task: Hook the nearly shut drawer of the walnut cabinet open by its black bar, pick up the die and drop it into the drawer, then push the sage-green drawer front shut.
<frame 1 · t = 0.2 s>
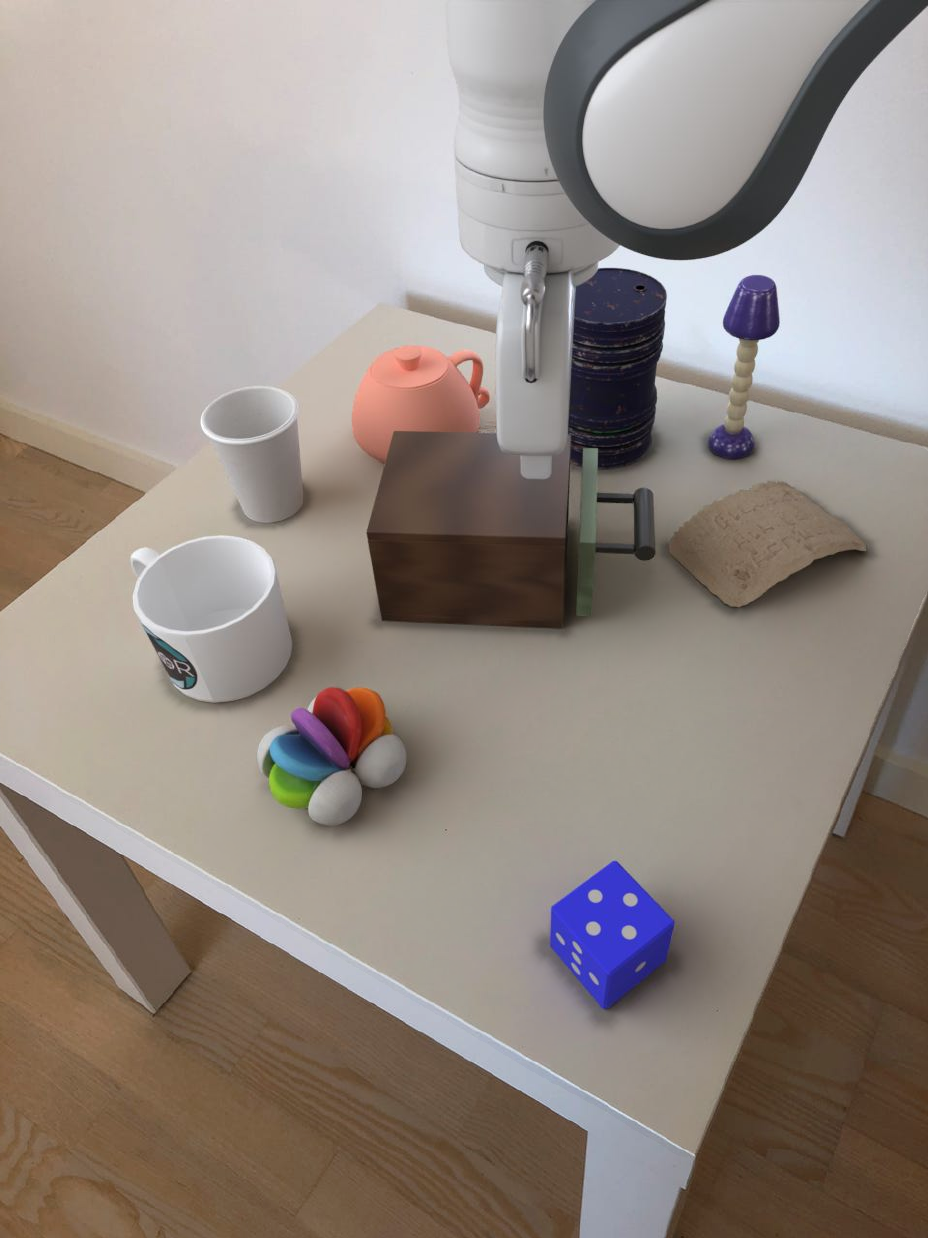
hand: (540, 425, 59), 20 cm above the table, tool pointing down, fingers open, 8 cm apart
toy lamp: (728, 448, 90), on the table
clay tablet: (765, 549, 80), on the table
cabinet: (478, 570, 80), on the table
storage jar: (600, 440, 92), on the table
sugar bowl: (426, 442, 93), on the table
drawer: (538, 529, 76), point 5 cm above the table, slide at 1.0 cm
dixie cup: (273, 504, 88), on the table
die: (607, 954, 57), on the table
rainbow petal toy: (337, 774, 67), on the table
mug: (218, 649, 76), on the table
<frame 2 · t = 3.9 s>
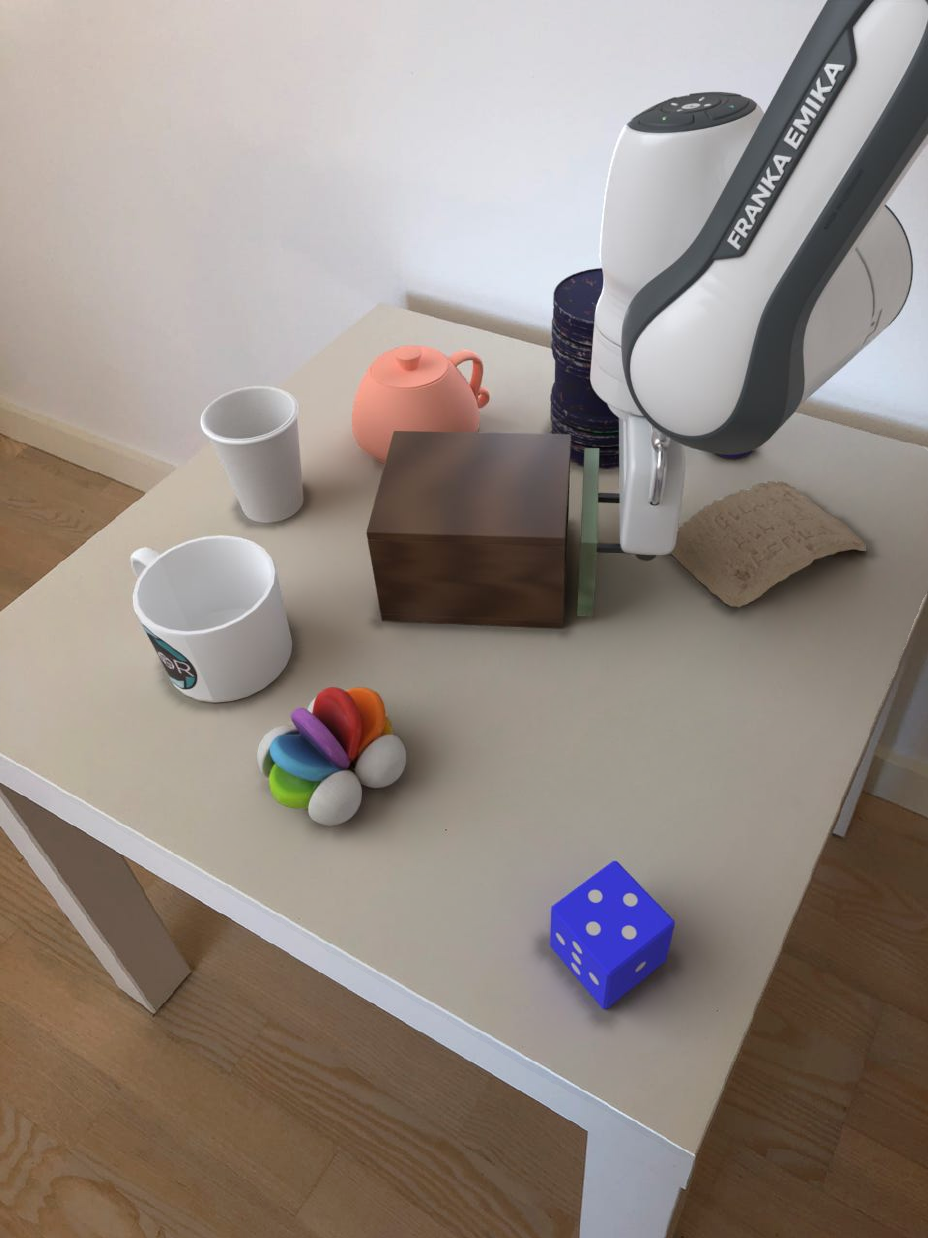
hand: (636, 515, 74), 7 cm above the table, tool pointing down, fingers closed, pressing on drawer
drawer: (540, 529, 76), point 5 cm above the table, slide at 1.1 cm, touching gripper
everything else where it was.
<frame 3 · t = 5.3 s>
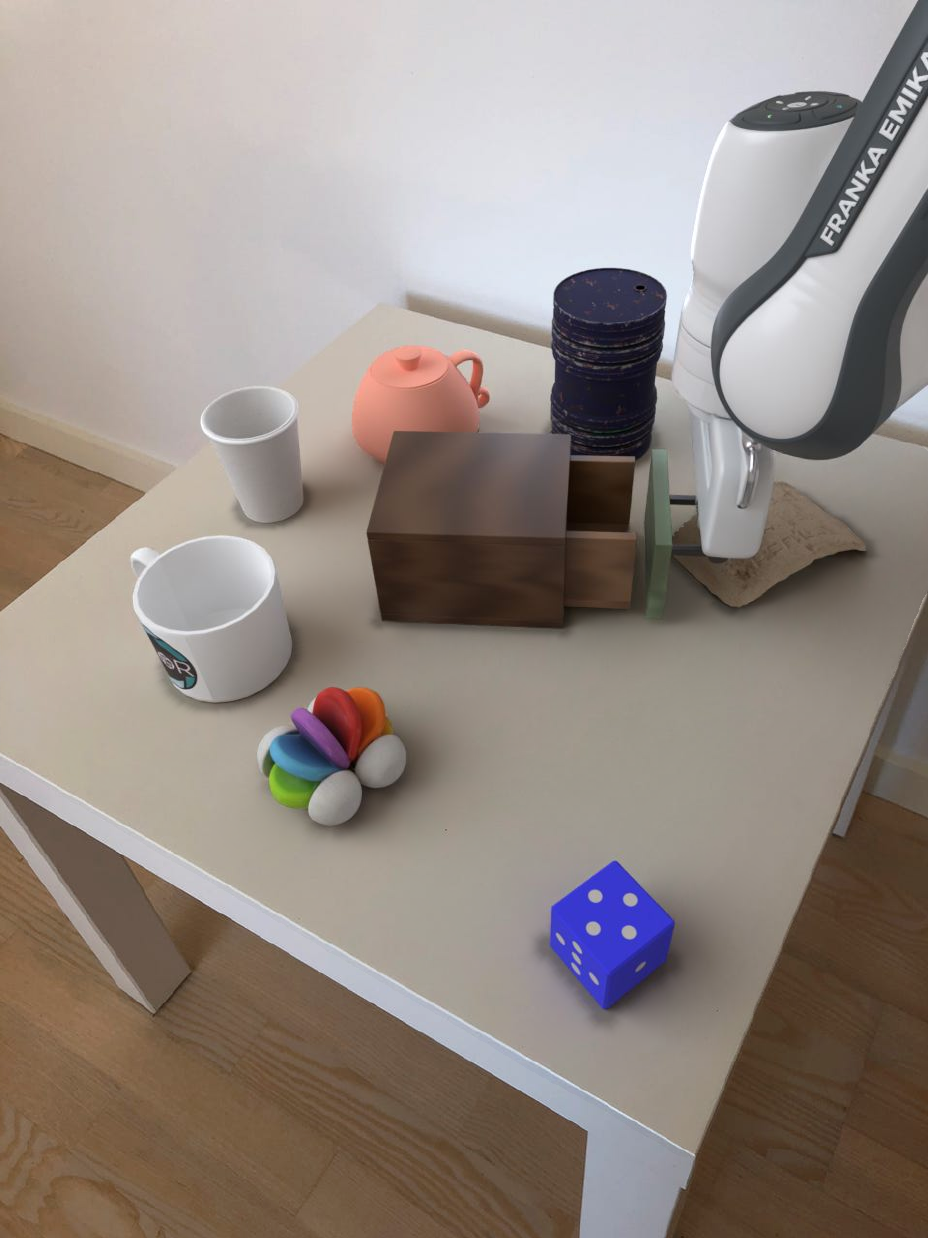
hand: (707, 517, 73), 7 cm above the table, tool pointing down, fingers closed, pressing on drawer
drawer: (607, 531, 75), point 5 cm above the table, slide at 6.5 cm, touching gripper
everything else where it was.
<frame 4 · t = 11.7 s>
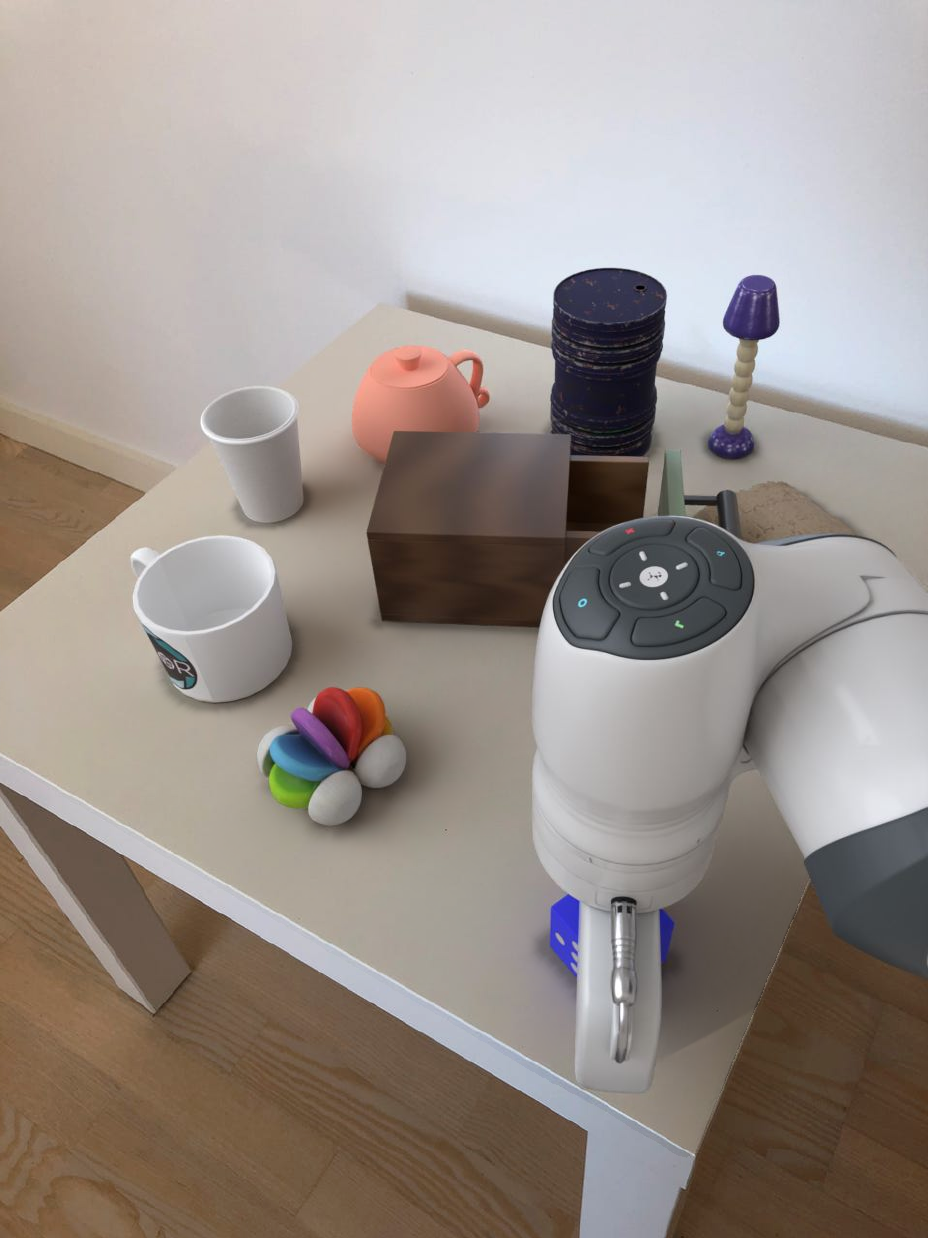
hand: (607, 939, 55), 2 cm above the table, tool pointing down, fingers closed on die, 7 cm apart
drawer: (621, 531, 75), point 5 cm above the table, slide at 7.6 cm
die: (607, 954, 57), on the table, touching gripper
everything else where it was.
when the fingers open (11 cm above the table, at t = 18.4 s): die drops 7 cm, resting on drawer.
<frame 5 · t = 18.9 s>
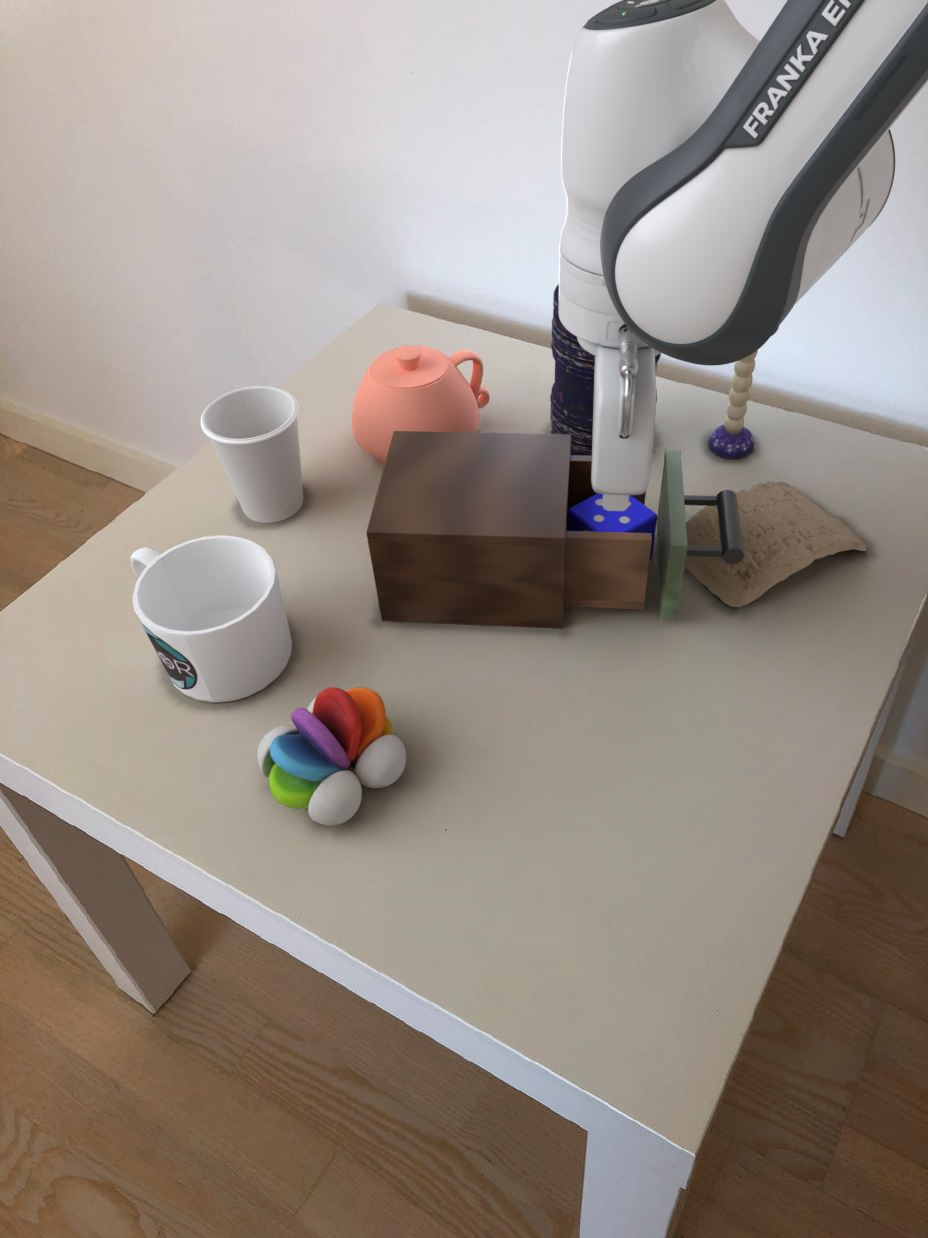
hand: (615, 463, 70), 11 cm above the table, tool pointing down, fingers open, 8 cm apart
drawer: (621, 531, 75), point 5 cm above the table, slide at 7.6 cm, touching die
die: (609, 560, 77), point 2 cm above the table, touching drawer
everything else where it was.
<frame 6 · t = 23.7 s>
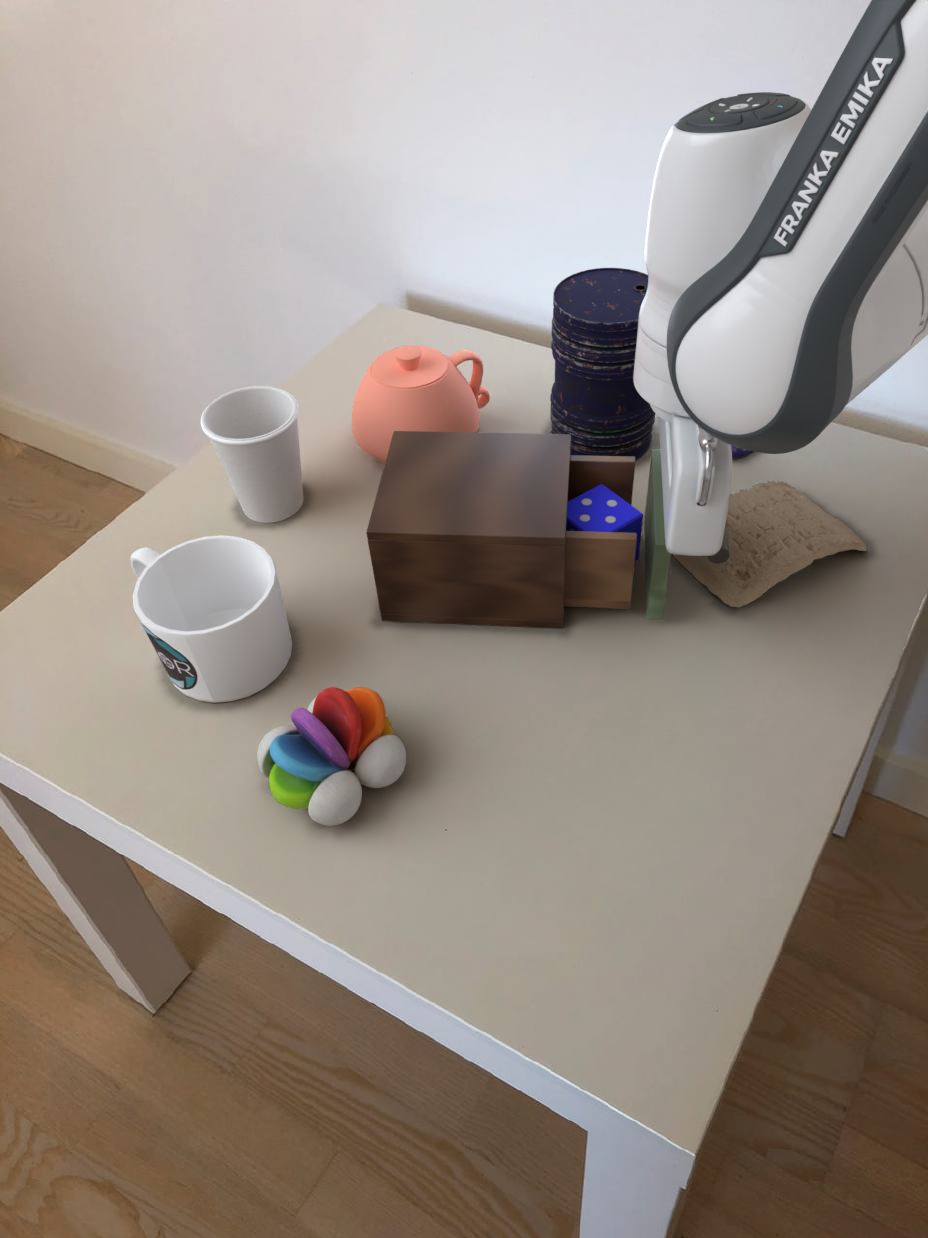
hand: (677, 517, 73), 6 cm above the table, tool pointing down, fingers closed
drawer: (607, 531, 75), point 5 cm above the table, slide at 6.5 cm, touching die
die: (595, 559, 77), point 2 cm above the table, touching drawer
everything else where it was.
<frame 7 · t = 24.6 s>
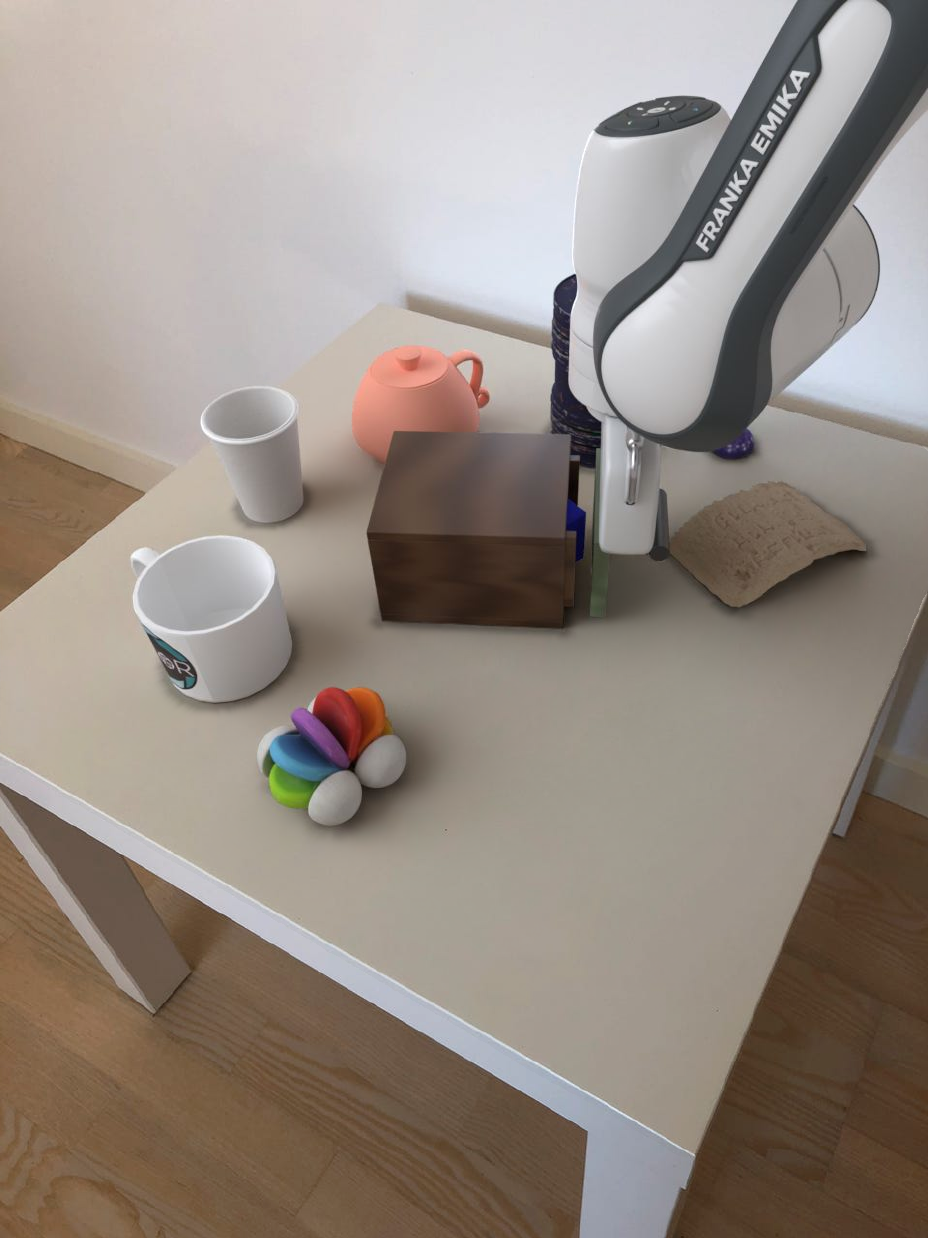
hand: (620, 516, 74), 6 cm above the table, tool pointing down, fingers closed, pressing on drawer
drawer: (552, 529, 76), point 5 cm above the table, slide at 2.1 cm, touching die, gripper
die: (541, 557, 78), point 2 cm above the table, touching drawer
everything else where it was.
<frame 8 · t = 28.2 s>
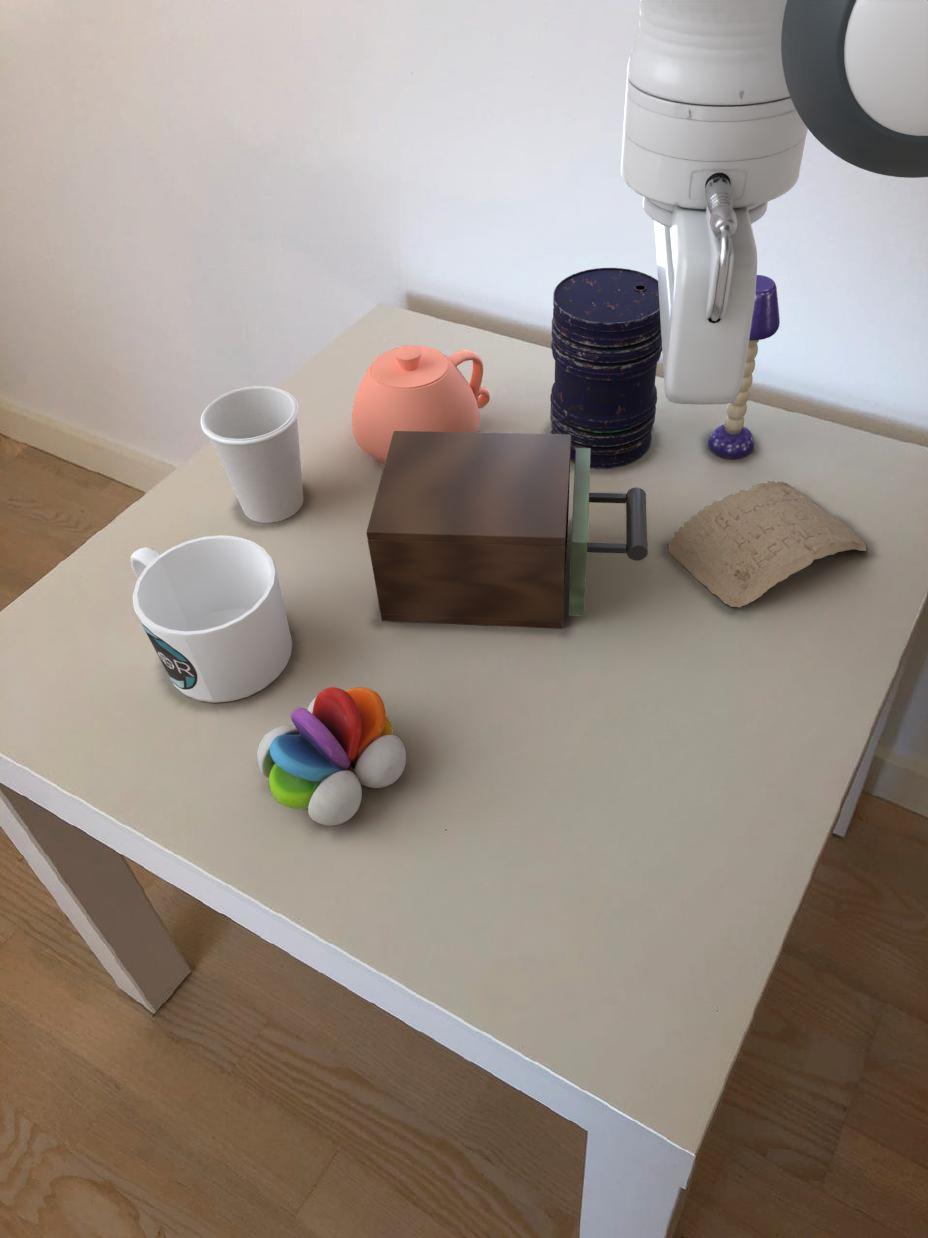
hand: (681, 381, 57), 23 cm above the table, tool pointing down, fingers closed
drawer: (531, 529, 76), point 5 cm above the table, slide at 0.4 cm, touching die
die: (521, 557, 78), point 2 cm above the table, touching drawer
everything else where it was.
at the end: drawer pulled out 7.6 cm at the most during the clip, back to 0.4 cm at the end; die inside the target area in the cabinet (0.4 cm from its centre), point 1.8 cm above the cabinet's base; drawer slide at 0.4 cm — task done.
